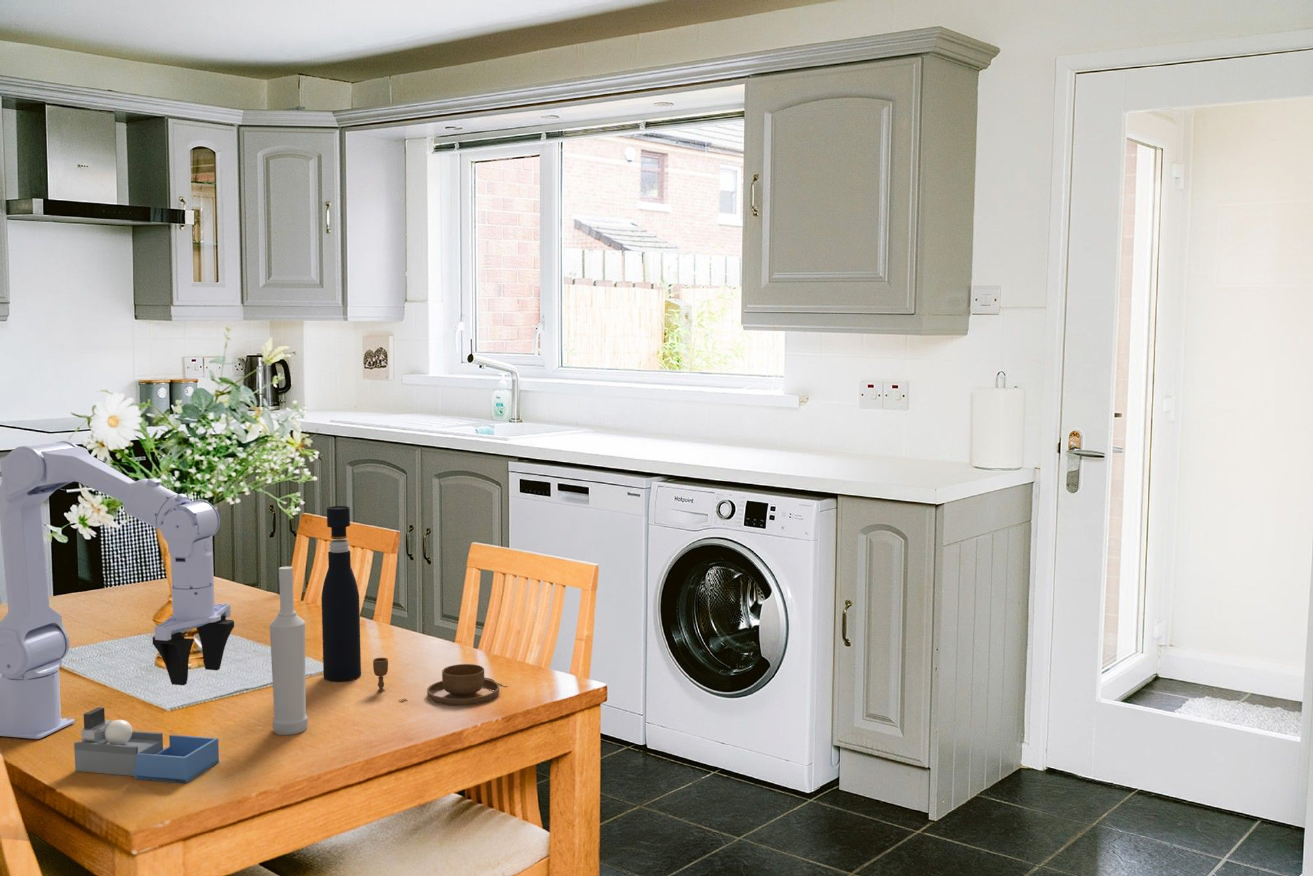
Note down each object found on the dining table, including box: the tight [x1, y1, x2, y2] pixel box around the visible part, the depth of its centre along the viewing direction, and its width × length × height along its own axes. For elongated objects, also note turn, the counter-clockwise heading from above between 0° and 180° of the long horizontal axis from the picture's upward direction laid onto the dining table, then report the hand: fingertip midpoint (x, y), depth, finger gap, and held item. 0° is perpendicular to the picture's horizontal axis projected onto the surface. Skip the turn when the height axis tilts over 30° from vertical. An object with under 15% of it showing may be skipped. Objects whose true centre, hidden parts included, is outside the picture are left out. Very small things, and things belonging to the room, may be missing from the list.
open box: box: [133, 734, 220, 784], centre depth 162 cm, size 8×8×4 cm
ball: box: [105, 719, 133, 745], centre depth 163 cm, size 4×4×4 cm
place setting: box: [372, 657, 508, 707], centre depth 198 cm, size 18×20×6 cm
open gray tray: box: [73, 730, 164, 777], centre depth 163 cm, size 10×6×4 cm, turn 78°
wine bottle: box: [320, 505, 362, 683], centre depth 204 cm, size 6×6×30 cm
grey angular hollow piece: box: [80, 706, 114, 744], centre depth 164 cm, size 2×4×4 cm, turn 168°
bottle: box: [269, 565, 309, 736], centre depth 177 cm, size 5×5×25 cm
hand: (196, 676), depth 171 cm, fingers open, 7 cm apart
